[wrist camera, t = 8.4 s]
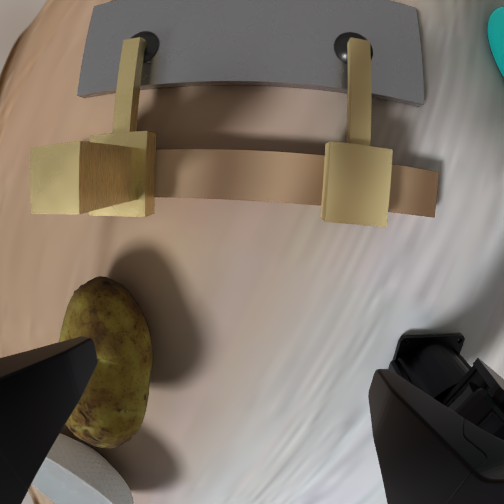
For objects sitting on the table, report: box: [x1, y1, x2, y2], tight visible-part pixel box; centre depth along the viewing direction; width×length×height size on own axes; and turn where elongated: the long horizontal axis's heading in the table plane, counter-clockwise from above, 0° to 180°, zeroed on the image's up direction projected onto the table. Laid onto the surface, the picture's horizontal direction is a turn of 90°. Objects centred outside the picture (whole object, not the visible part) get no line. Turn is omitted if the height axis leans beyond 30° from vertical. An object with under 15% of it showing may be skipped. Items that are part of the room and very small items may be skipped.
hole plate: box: [77, 0, 424, 107], centre depth 17 cm, size 24×8×1 cm, turn 87°
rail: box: [154, 37, 439, 227], centre depth 17 cm, size 26×12×3 cm, turn 87°
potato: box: [59, 277, 153, 449], centre depth 20 cm, size 8×13×8 cm, turn 154°
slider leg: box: [30, 37, 157, 217], centre depth 14 cm, size 4×12×8 cm, turn 177°
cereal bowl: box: [32, 433, 134, 504], centre depth 26 cm, size 17×17×7 cm
